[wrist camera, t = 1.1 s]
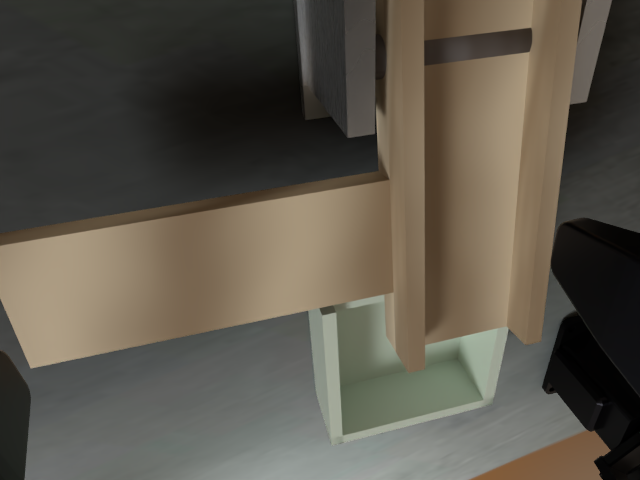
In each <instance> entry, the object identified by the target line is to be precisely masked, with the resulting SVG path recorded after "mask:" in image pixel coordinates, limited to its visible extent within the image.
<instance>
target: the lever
mask: <svg viewBox="0 0 640 480" xmlns="http://www.w3.org/2000/svg"><path fill="white" fill-rule="evenodd" d="M581 5H582V0H376V36H375V98H376V120H377V143H378V165H379V171H376V172H370V173H364V174H358V175H352V176H346V177H339V178H333V179H327V180H321V181H315V182H309V183H303V184H297V185H291V186H285V187H279V188H273V189H267V190H261V191H255V192H248V193H242V194H236V195H230V196H224V197H218V198H212V199H206V200H200V201H194V202H188V203H182V204H176V205H170V206H164V207H157V208H151V209H145V210H139V211H133V212H127V213H121V214H115V215H109V216H103V217H97V218H91V219H85V220H79V221H73V222H66V223H60V224H54V225H48V226H42V227H36V228H30V229H24V230H18V231H12V232H6V233H0V299H1V301H2V304H3V306H4V308H5V310H6V313H7V315H8V317H9V320H10V322H11V324H12V326H13V329H14V331H15V333H16V336H17V338H18V340H19V342H20V345H21V347H22V349H23V352H24V354H25V356H26V358H27V361H28V363H29V365H30V368H35V367H40V366H45V365H49V364H54V363H59V362H64V361H69V360H73V359H78V358H83V357H88V356H92V355H97V354H102V353H107V352H112V351H116V350H121V349H126V348H131V347H136V346H140V345H145V344H150V343H155V342H159V341H164V340H169V339H174V338H179V337H183V336H188V335H193V334H198V333H203V332H207V331H212V330H217V329H222V328H226V327H231V326H236V325H241V324H246V323H250V322H255V321H260V320H265V319H269V318H274V317H279V316H284V315H289V314H293V313H298V312H303V311H308V310H313V309H317V308H322V307H327V306H332V305H336V304H341V303H346V302H351V301H356V300H360V299H365V298H370V297H375V296H380V295H384V300H385V322H386V337H387V338H388V340H389V342H390V343H391V345H392V347H393V348H394V350H395V352H396V353H397V355H398V356H399V358H400V360H401V361H402V363H403V365H404V366H405V368H406V370H407V371H408V373H411V372H415V371H420V370H424V369H425V345H428V344H432V343H436V342H441V341H445V340H449V339H454V338H458V337H462V336H467V335H471V334H475V333H480V332H484V331H488V330H493V329H497V328H501V327H506V326H507V327H508V328H509V329H510V330H511V331H512V332H513V333H514V334H515V335H516V336H517V337H518V338H519V339H520V340H521V341H522V342H523V343H524V344H525V345H528V344H533V343H537V342H541V336H542V328H543V320H544V312H545V303H546V295H547V287H548V278H549V270H550V260H551V254H552V245H553V237H554V229H555V221H556V212H557V204H558V196H559V187H560V179H561V171H562V163H563V154H564V146H565V138H566V130H567V121H568V113H569V105H570V96H571V88H572V80H573V72H574V63H575V55H576V47H577V38H578V30H579V22H580V14H581Z"/></svg>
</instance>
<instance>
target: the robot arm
mask: <svg viewBox="0 0 640 480" xmlns="http://www.w3.org/2000/svg"><path fill="white" fill-rule="evenodd" d="M550 263H551V269H552V272H553V274H554V276H555V277H556V279H557V281H558V282H559V284H560V285H561V287H562V288H563V290H564V291H565V293H566V295H567V296H568V298H569V299H570V301H571V302H572V304H573V306H574V307H575V309H576V310H577V312H578V313H579V315H580V316H578V317H573V318H569V319H567V320H565V321H563V323H562V324H561V325H560V328H559V332H558V335H557V338H556V342H555V345H554V348H553V352H552V355H551V358H550V362H549V365H548V369H547V372H546V375H545V379H544V382H543V385H542V388H543V389H544V391H545V392H546V393H547V394H553V393H558V395H559V396H560V397H561V398H562V400H563V401H564V402H565V403H566V405H567V406H568V407H569V408H570V410H571V411H572V412H573V413H574V415H575V416H576V417H577V418H578V420H579V421H580V422H581V423H582V425H583V426H584V427H585V428H586V429H587V430H588V431H591V432H592V431H595V432H596V433H597V434H598V435H599V437H600V438H601V439H602V440H603V441H604V443H605V444H606V445H607V446H608V448H609V449H610V450H611V451H610V452H609V453H607V454H606V455H605V456H600V457H599V458H597V459H596V460H595V461H594V463H595V464H596V466H597V467H598V469H599V471H600V474H599V475H600V477H601V478H602V479H603V480H640V233H637V232H634V231H630V230H627V229H623V228H620V227H616V226H613V225H610V224H606V223H603V222H599V221H596V220H592V219H589V218H579V219H574V220H570V221H565V222H563V223H562V224H560V226H559V227H558V229H557V233H556V237H555V242H554V246H553V251H552V255H551V260H550ZM30 403H31V397H30V391H29V388H28V385H27V384H26V382H25V380H24V379H23V377H22V376H21V374H20V373H19V371H18V370H17V368H16V367H15V365H14V364H13V362H12V360H11V359H10V357H9V356H8V355H7V354H6V353H5V352H4V351H2V350H0V480H24V478H25V466H26V453H27V441H28V428H29V416H30Z"/></svg>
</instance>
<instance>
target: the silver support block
mask: <svg viewBox="0 0 640 480" xmlns="http://www.w3.org/2000/svg"><path fill="white" fill-rule="evenodd" d="M611 2H612V0H582V5H581V14H580V22H579V30H578V38H577V47H576V55H575V63H574V72H573V80H572V88H571V96H570V104H576V103H582V102H587V98H588V94H589V90H590V86H591V82H592V78H593V74H594V70H595V66H596V62H597V58H598V54H599V50H600V46H601V42H602V38H603V34H604V30H605V26H606V22H607V18H608V14H609V10H610V6H611ZM293 3H294V16H295V28H296V41H297V53H298V66H299V78H300V91H301V103H302V115H303V117H304V118H305V120H310V119H317V118H324V117H332V118H333V120H334V121H335V122H336V123H337V125H338V126H339V127H340V129H341V130H342V131H343V132H344V134H345V135H346V136H347V138H351V137H358V136H364V135H371V134H375V110H376V98H375V36H376V0H293Z"/></svg>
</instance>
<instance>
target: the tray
mask: <svg viewBox="0 0 640 480" xmlns="http://www.w3.org/2000/svg"><path fill="white" fill-rule="evenodd" d="M308 314H309V325H310V335H311V346H312V357H313V367H314V378H315V388H316V394H317V398H318V401H319V404H320V408H321V411H322V415H323V418H324V421H325V425H326V428H327V432H328V435H329V438H330V442H331V445H332V446H333V445H337V444H341V443H344V442H348V441H352V440H356V439H360V438H364V437H368V436H372V435H375V434H379V433H383V432H387V431H391V430H395V429H399V428H403V427H407V426H410V425H414V424H418V423H422V422H426V421H430V420H434V419H438V418H441V417H445V416H449V415H453V414H457V413H461V412H465V411H469V410H472V409H476V408H480V407H484V406H488V405H492V403H493V399H494V394H495V390H496V385H497V380H498V376H499V371H500V367H501V362H502V357H503V353H504V348H505V344H506V339H507V335H508V330H509V328H508V327H507V326H506V327H501V328H497V329H493V330H488V331H484V332H480V333H475V334H471V335H467V336H462V337H458V338H454V339H449V340H445V341H441V342H436V343H432V344H428V345H425V369H424V370H420V371H415V372H411V373H408V371H407V370H406V368H405V366H404V365H403V363H402V361H401V360H400V358H399V356H398V355H397V353H396V352H395V350H394V348H393V347H392V345H391V343H390V342H389V340H388V338H387V337H386V322H385V300H384V295H380V296H375V297H370V298H365V299H360V300H356V301H351V302H346V303H341V304H336V305H332V306H327V307H322V308H317V309H313V310H308Z"/></svg>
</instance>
